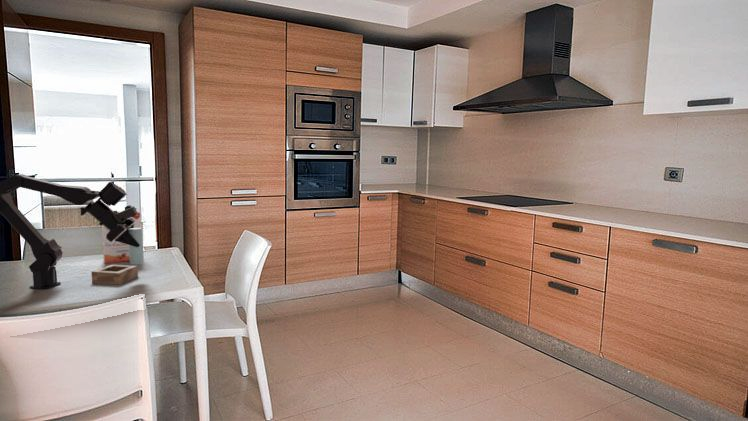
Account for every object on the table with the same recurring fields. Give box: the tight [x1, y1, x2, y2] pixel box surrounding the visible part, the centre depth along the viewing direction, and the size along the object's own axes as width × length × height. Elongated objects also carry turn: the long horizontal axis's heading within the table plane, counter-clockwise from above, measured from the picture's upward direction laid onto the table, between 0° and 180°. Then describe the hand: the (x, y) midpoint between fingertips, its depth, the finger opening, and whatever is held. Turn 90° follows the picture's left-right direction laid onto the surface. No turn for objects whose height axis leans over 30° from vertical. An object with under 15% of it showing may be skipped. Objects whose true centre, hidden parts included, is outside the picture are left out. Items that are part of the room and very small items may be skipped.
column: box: [129, 227, 145, 265], centre depth 167 cm, size 4×4×12 cm
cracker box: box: [101, 210, 142, 264], centre depth 196 cm, size 14×6×21 cm, turn 124°
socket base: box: [91, 264, 139, 285], centre depth 169 cm, size 10×10×4 cm
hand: (140, 244), depth 167 cm, fingers closed on column, 4 cm apart
